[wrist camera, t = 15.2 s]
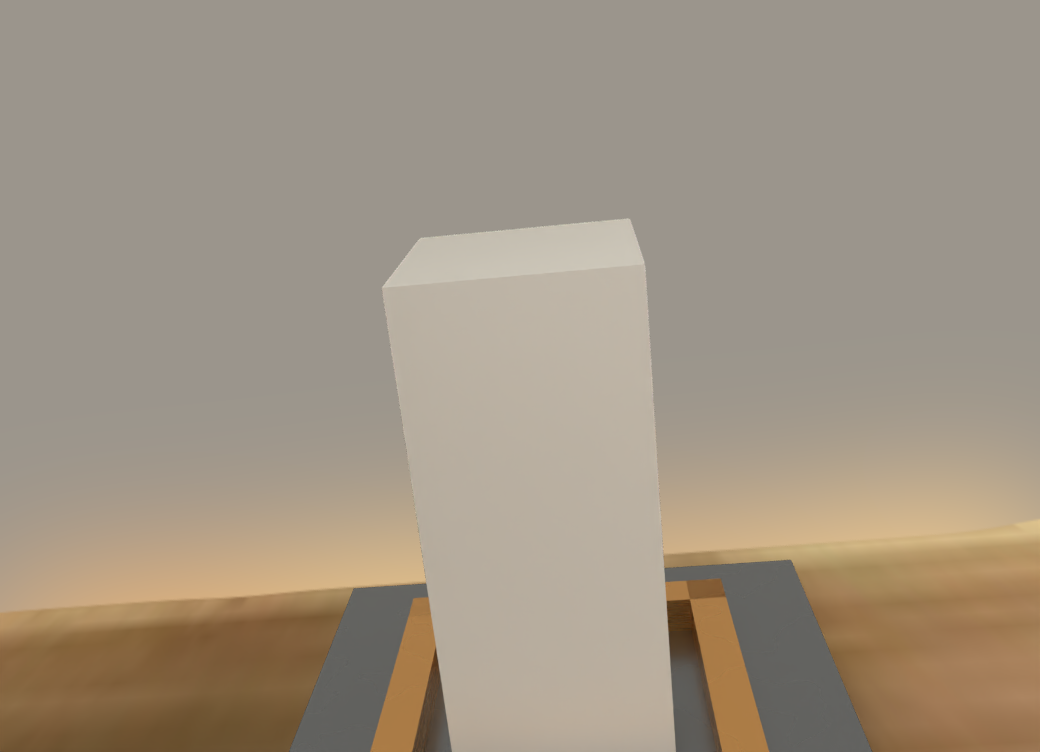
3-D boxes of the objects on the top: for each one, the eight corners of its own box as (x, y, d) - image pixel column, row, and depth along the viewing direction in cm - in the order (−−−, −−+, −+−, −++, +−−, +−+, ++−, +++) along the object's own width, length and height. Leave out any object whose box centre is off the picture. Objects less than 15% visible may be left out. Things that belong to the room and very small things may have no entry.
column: (458, 796, 22) (382, 287, 19) (478, 665, 27) (419, 238, 23) (678, 785, 22) (644, 263, 18) (659, 654, 27) (629, 218, 23)
